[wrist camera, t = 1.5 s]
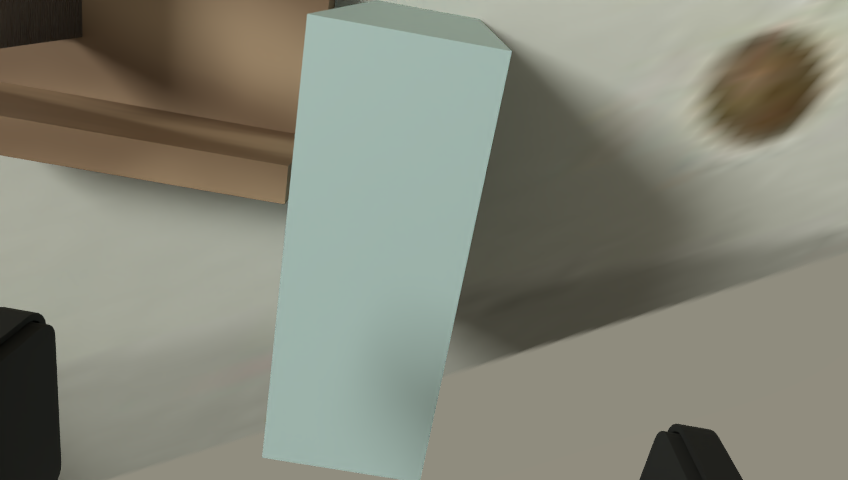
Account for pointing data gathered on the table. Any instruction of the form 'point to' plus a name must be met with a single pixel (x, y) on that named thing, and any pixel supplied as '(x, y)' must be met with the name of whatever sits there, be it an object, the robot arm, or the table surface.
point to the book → (378, 231)
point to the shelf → (165, 93)
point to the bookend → (39, 21)
